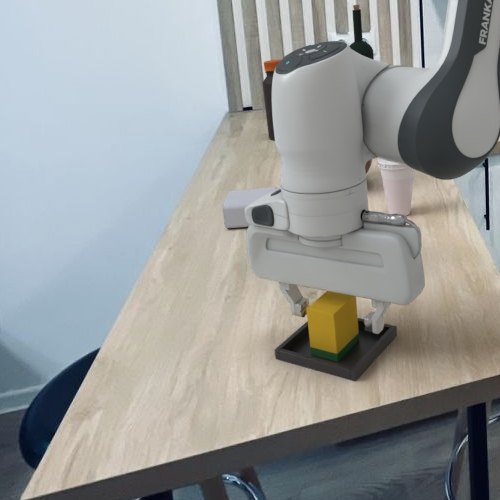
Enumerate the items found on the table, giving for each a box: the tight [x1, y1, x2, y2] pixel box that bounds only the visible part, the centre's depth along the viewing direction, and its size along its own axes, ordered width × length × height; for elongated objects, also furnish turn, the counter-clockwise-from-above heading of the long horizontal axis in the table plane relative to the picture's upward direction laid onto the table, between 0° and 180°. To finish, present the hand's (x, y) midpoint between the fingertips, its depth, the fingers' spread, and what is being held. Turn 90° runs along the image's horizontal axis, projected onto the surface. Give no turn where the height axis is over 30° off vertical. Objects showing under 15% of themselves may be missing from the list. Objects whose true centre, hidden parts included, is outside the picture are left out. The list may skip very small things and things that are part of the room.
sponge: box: [306, 291, 359, 362], centre depth 74 cm, size 4×5×6 cm
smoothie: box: [377, 158, 415, 217], centre depth 110 cm, size 6×6×14 cm
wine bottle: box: [349, 4, 375, 60], centre depth 181 cm, size 8×10×30 cm
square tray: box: [273, 317, 398, 382], centre depth 75 cm, size 10×10×2 cm
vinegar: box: [262, 58, 282, 141], centre depth 172 cm, size 7×7×20 cm
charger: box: [222, 186, 280, 229], centre depth 118 cm, size 5×9×15 cm
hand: (336, 322), depth 74 cm, fingers open, 8 cm apart
